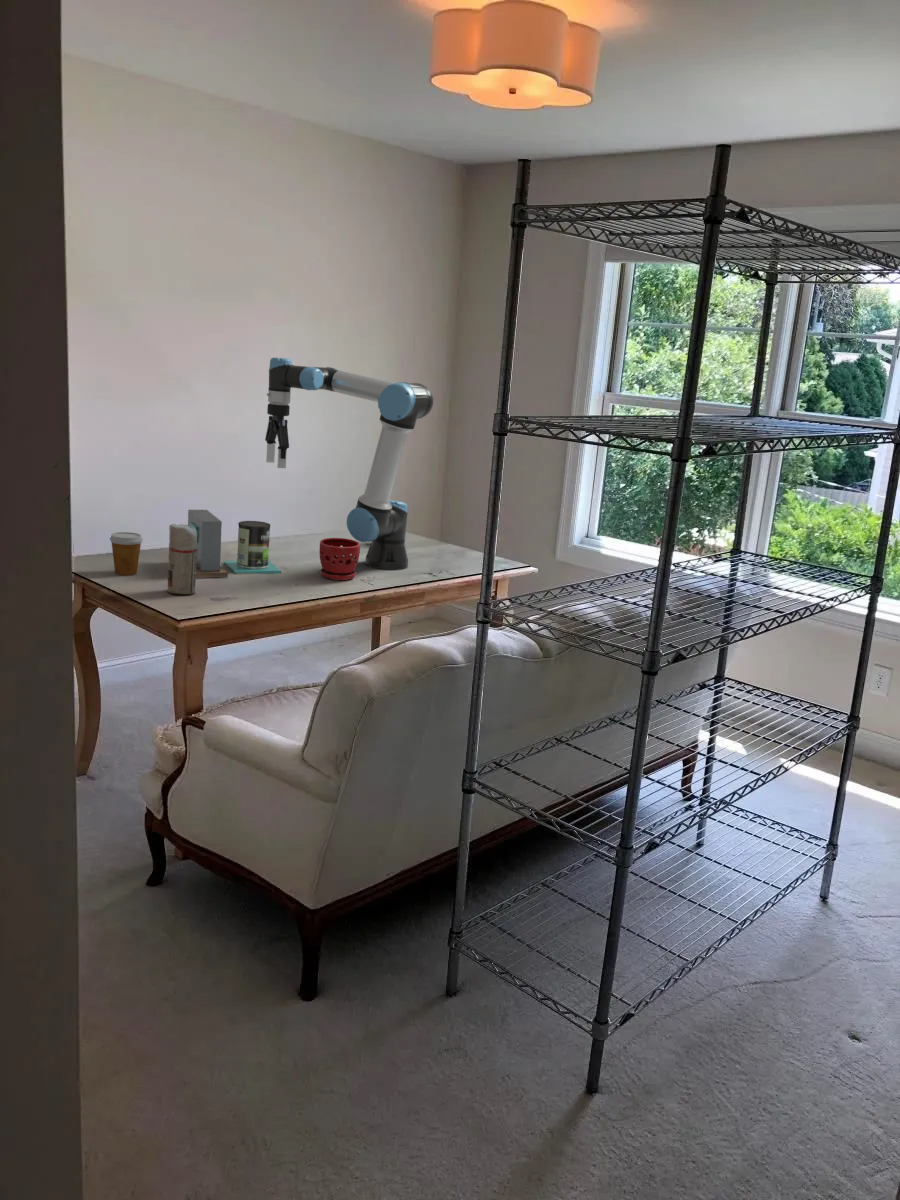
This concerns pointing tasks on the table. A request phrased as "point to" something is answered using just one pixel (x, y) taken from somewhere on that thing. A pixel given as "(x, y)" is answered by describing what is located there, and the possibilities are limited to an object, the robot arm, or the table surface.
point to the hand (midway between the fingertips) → (275, 465)
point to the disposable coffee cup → (126, 552)
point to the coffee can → (253, 544)
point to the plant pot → (339, 558)
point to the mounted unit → (207, 543)
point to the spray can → (182, 559)
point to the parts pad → (237, 569)
